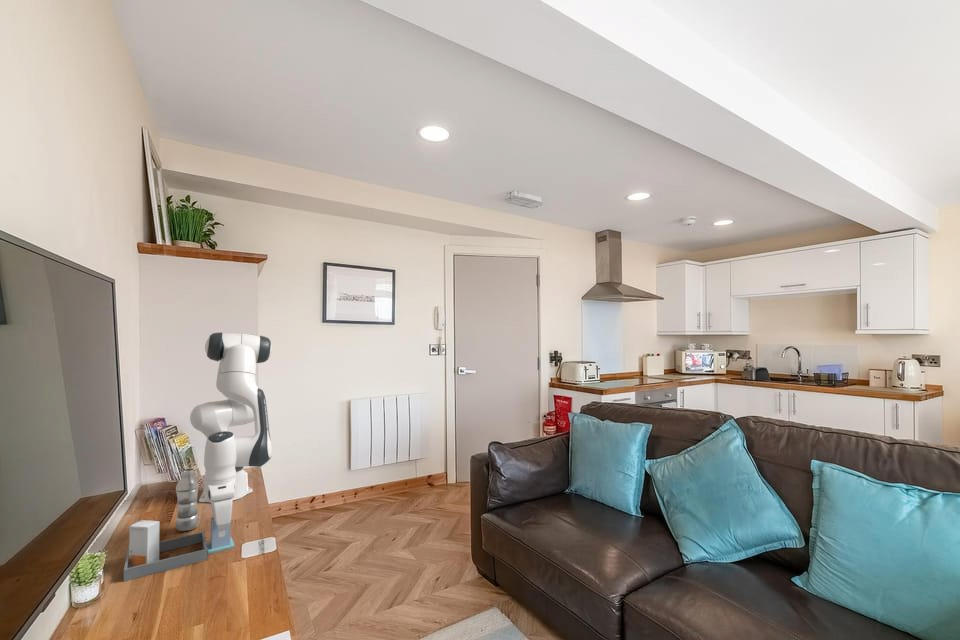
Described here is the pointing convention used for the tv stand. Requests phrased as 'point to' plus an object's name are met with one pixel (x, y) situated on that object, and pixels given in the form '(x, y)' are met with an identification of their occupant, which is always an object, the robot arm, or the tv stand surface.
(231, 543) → the pad
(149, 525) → the skincare box
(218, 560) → the tv stand surface
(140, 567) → the bin
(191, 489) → the plastic bottle
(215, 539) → the slate box
